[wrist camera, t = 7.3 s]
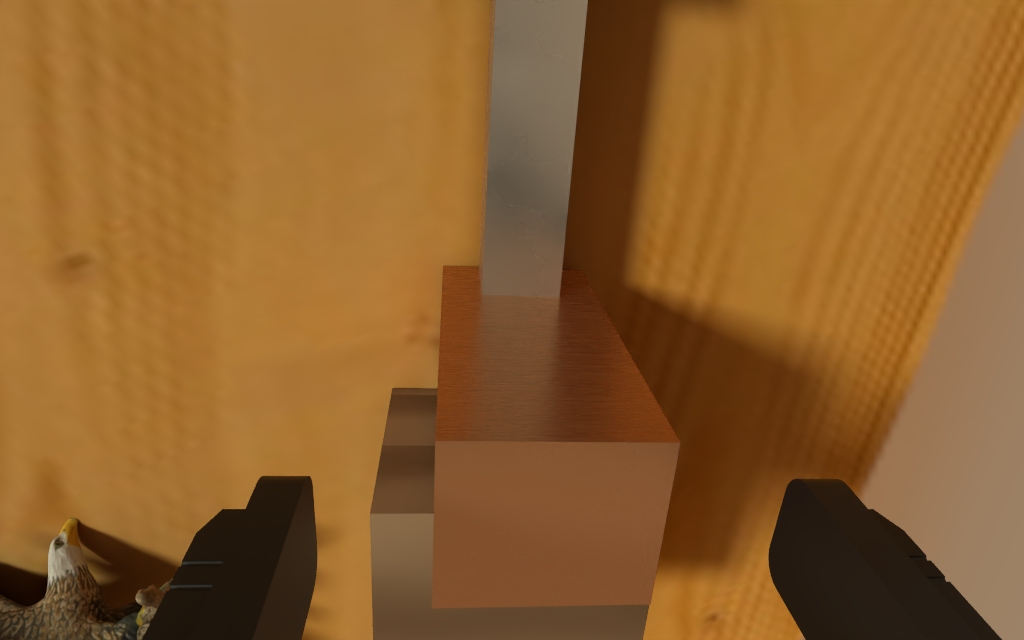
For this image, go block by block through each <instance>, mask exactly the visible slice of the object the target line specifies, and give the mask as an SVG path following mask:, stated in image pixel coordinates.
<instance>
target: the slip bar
mask: <svg viewBox="0 0 1024 640" xmlns="http://www.w3.org/2000/svg"><path fill="white" fill-rule="evenodd" d="M587 5H588V0H491V11H490V33H489V55H488V78H487V100H486V122H485V145H484V167H483V189H482V212H481V234H480V256H479V267H469V266H443V284H442V305H441V327H440V349H439V370H438V392H437V413H436V435H435V476H434V526H433V575H432V608H484V607H540V606H595V605H650V604H651V598H652V593H653V588H654V582H655V577H656V572H657V566H658V561H659V556H660V550H661V545H662V540H663V534H664V529H665V524H666V518H667V513H668V508H669V502H670V497H671V492H672V486H673V481H674V476H675V470H676V465H677V460H678V454H679V449H680V444H681V442H680V441H679V439H678V437H677V435H676V434H675V432H674V430H673V429H672V427H671V425H670V423H669V422H668V420H667V418H666V416H665V415H664V413H663V411H662V409H661V408H660V406H659V404H658V402H657V401H656V399H655V397H654V395H653V394H652V392H651V390H650V388H649V387H648V385H647V383H646V381H645V380H644V378H643V376H642V374H641V373H640V371H639V369H638V367H637V366H636V364H635V362H634V361H633V359H632V357H631V355H630V354H629V352H628V350H627V348H626V347H625V345H624V343H623V341H622V340H621V338H620V336H619V334H618V333H617V331H616V329H615V327H614V326H613V324H612V322H611V320H610V319H609V317H608V315H607V313H606V312H605V310H604V308H603V306H602V305H601V303H600V301H599V300H598V298H597V296H596V294H595V293H594V291H593V289H592V287H591V286H590V284H589V282H588V280H587V279H586V277H585V275H584V273H583V272H582V270H562V266H563V256H564V246H565V235H566V225H567V214H568V204H569V193H570V183H571V172H572V162H573V151H574V141H575V130H576V120H577V110H578V99H579V89H580V78H581V68H582V57H583V47H584V36H585V26H586V15H587Z"/></svg>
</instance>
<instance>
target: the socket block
mask: <svg viewBox="0 0 1024 640" xmlns="http://www.w3.org/2000/svg"><path fill="white" fill-rule="evenodd" d="M437 392H438V389H406V388H393V389H392V394H391V400H390V405H389V411H388V417H387V422H386V428H385V433H384V439H383V445H382V450H381V456H380V461H379V467H378V473H377V478H376V484H375V489H374V495H373V501H372V506H371V512H370V528H371V567H372V607H373V640H643V635H644V630H645V625H646V619H647V614H648V609H649V605H595V606H540V607H484V608H432V575H433V526H434V476H435V435H436V413H437Z"/></svg>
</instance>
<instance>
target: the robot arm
mask: <svg viewBox="0 0 1024 640" xmlns="http://www.w3.org/2000/svg"><path fill="white" fill-rule="evenodd" d="M769 568H770V573H771V577H772V580H773V583H774V585H775V587H776V589H777V591H778V592H779V594H780V596H781V598H782V599H783V601H784V603H785V605H786V606H787V608H788V610H789V612H790V613H791V615H792V617H793V618H794V620H795V622H796V624H797V625H798V627H799V629H800V631H801V632H802V634H803V636H804V638H805V639H806V640H1002V639H1001V638H1000V637H999V636H998V635H997V634H996V633H995V632H994V630H993V629H992V628H991V627H990V626H989V625H988V624H987V623H986V622H985V621H984V619H983V618H982V617H981V616H980V615H979V614H978V613H977V611H976V610H975V609H974V608H973V607H972V606H971V605H970V604H969V603H968V601H967V600H966V599H965V598H964V597H963V596H962V595H961V594H960V593H959V591H958V590H957V589H956V588H955V587H954V586H953V585H952V584H951V583H950V582H946V581H945V576H944V575H943V574H942V573H941V571H940V570H939V569H938V568H937V567H936V566H935V565H934V564H933V563H932V562H931V561H927V559H926V555H925V554H924V553H923V551H922V550H921V549H920V548H919V547H918V546H917V545H916V544H915V543H914V541H913V540H912V539H911V538H910V537H909V536H908V535H907V534H906V533H905V531H904V530H902V529H901V528H899V527H898V526H896V525H895V524H893V523H892V522H890V521H889V520H888V519H886V518H885V517H883V516H882V515H880V514H879V513H878V512H876V511H875V510H873V509H870V510H869V509H867V508H866V506H865V505H864V504H863V503H862V502H861V501H860V499H859V498H858V497H857V496H856V495H855V494H854V493H853V491H852V490H851V489H850V488H849V487H848V486H847V485H846V484H845V483H844V482H843V481H841V480H839V479H794V480H792V481H791V482H790V483H789V484H788V486H787V488H786V491H785V495H784V498H783V502H782V505H781V509H780V512H779V516H778V520H777V523H776V527H775V530H774V534H773V537H772V541H771V544H770V548H769ZM316 570H317V540H316V526H315V512H314V498H313V485H312V480H311V478H310V476H262V477H260V479H259V480H258V482H257V484H256V487H255V489H254V491H253V493H252V496H251V498H250V500H249V503H248V505H247V507H246V509H222V510H221V511H220V512H219V513H218V514H217V515H216V516H215V517H214V518H213V519H211V520H210V521H209V522H208V523H207V524H206V525H205V526H204V527H203V528H201V529H200V530H199V531H198V532H197V533H196V535H195V537H194V539H193V541H192V543H191V545H190V547H189V548H188V550H187V552H186V554H185V556H184V558H183V560H182V566H181V567H179V568H178V570H177V572H176V574H175V576H174V578H173V580H172V582H171V584H170V589H169V591H166V593H165V595H164V597H163V599H162V601H161V603H160V605H159V607H158V609H157V611H156V613H155V615H154V617H153V619H152V620H151V622H150V624H149V626H148V628H147V630H146V632H145V634H144V636H143V638H142V640H301V639H302V635H303V631H304V627H305V623H306V619H307V615H308V611H309V607H310V603H311V599H312V595H313V591H314V586H315V579H316Z"/></svg>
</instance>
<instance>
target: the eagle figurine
mask: <svg viewBox="0 0 1024 640" xmlns="http://www.w3.org/2000/svg"><path fill="white" fill-rule="evenodd" d="M78 521H79V520H78V519H77V518H70V519H69V520H68V521H67V522H66V523H65V524H64V526H63V528H62V530H61V532H60V533H59V534H58V535H57V536H56V537H55V538H54V540H53V541H52V543H51V545H50V549H49V555H48V585H47V592H46V595H45V597H44V598H43V599H42V600H41V601H39V602H38V603H36V604H34V605H32V606H23V605H20V604H18V603H16V602H14V601H11V600H9V599H7V598H6V597H4V596H2V595H0V640H142V638H143V636H144V634H145V632H146V630H147V628H148V626H149V624H150V622H151V620H152V619H153V617H154V615H155V613H156V611H157V609H158V607H159V605H160V603H161V601H162V599H163V597H164V595H165V593H166V591H169V589H170V584H171V582H172V580H173V578H172V579H171V580H170V581H168V582H166V583H165V584H164V585H163V586H162V587H160V588H158V587H156V586H155V585H154V584H152V585H151V586H149V587H148V588H144V589H141V590H139V591H138V593H137V595H136V598H135V599H136V601H137V602H135V603H131V604H128V605H126V606H124V607H119V608H110V607H107V606H106V604H105V601H104V599H103V597H102V595H101V590H100V588H99V587H98V585H97V583H96V581H95V579H94V577H93V576H92V574H91V573H90V571H89V570H88V567H87V564H86V562H85V560H84V558H83V555H82V550H81V546H80V544H79V541H78V537H77V524H78Z"/></svg>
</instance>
